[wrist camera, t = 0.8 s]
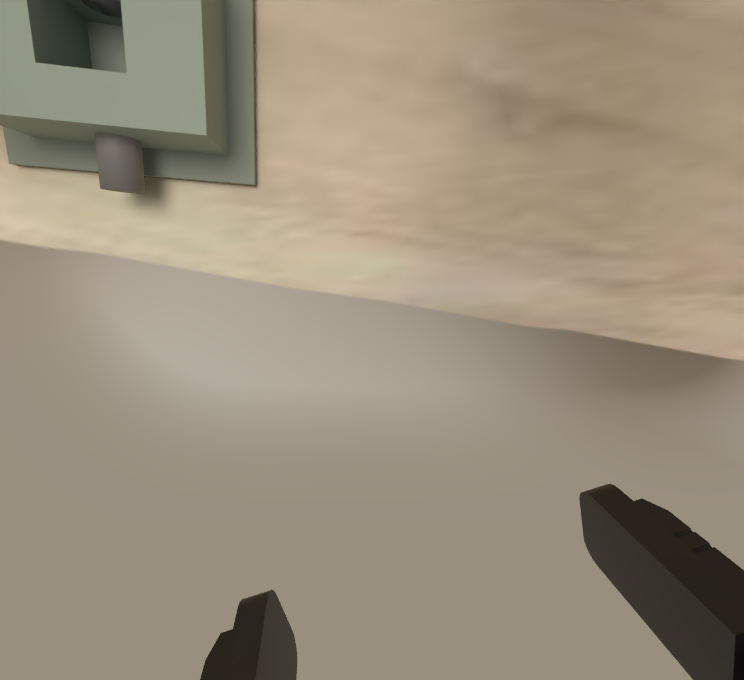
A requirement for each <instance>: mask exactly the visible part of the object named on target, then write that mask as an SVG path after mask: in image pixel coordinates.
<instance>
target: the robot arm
mask: <svg viewBox="0 0 744 680" xmlns="http://www.w3.org/2000/svg"><path fill="white" fill-rule="evenodd" d="M580 508H581V516H582V525H583V536H584V541H585V544H586V547H587V549H588V551H589V553H590V555H591V557H592V558H593V560H594V561H595V563H596V564H597V566H598V567H599V568H600V569H601V570H602V572H603V573H604V574H605V575H606V576H607V578H608V579H609V580H610V581H611V582H612V584H613V585H614V586H615V587H616V588H617V589H618V591H619V592H620V593H621V594H622V595H623V597H624V598H625V599H626V600H627V601H628V602H629V604H630V605H631V606H632V607H633V609H634V610H635V611H636V612H637V613H638V615H639V616H640V617H641V618H642V619H643V620H644V622H645V623H646V624H647V625H648V626H649V628H650V629H651V630H652V631H653V632H654V634H655V635H656V636H657V637H658V638H659V640H660V641H661V642H662V643H663V644H664V645H665V647H666V648H667V649H668V650H669V651H670V652H671V654H672V655H673V656H674V657H675V659H676V660H677V661H678V662H679V663H680V665H681V666H682V667H683V668H684V669H685V670H686V672H687V673H688V674H689V675H690V676H691V678H692V679H693V680H744V570H743V569H741V568H740V567H739V566H737V565H736V564H735V563H734V562H732V561H731V560H730V559H729V558H727V557H726V556H725V555H724V554H722V553H721V552H720V551H719V550H717V549H716V548H715V547H714V548H712V547H711V546H710V544H709V543H708V542H707V541H706V540H705V539H703V538H702V537H701V536H699V535H698V534H697V533H696V532H692V531H691V528H689V527H688V526H687V525H686V524H684V523H683V522H682V521H681V520H679V519H678V518H677V517H676V516H674V515H673V514H672V513H671V512H669V511H668V510H666V509H663V508H661V507H659V506H657V505H655V504H653V503H650V502H648V501H646V500H644V499H639V500H636V501H633V500H632V499H630V498H629V497H628V496H627V495H626V494H624V493H623V492H622V491H621V490H620V489H619V488H617V487H616V486H614V485H612V484H607V485H604V486H600V487H597V488H594V489H591V490H588V491H585V492H582V493H581V494H580ZM296 674H297V650H296V643H295V638H294V634H293V631H292V629H291V627H290V624H289V622H288V620H287V617H286V615H285V613H284V611H283V608H282V607H281V604H280V602H279V599H278V597H277V595H276V593H275V592H274V591H273V590H270V591H267V592H264V593H261V594H258V595H255V596H252V597H249V598H245V599H242V600H241V602H240V603H239V606H238V609H237V614H236V618H235V623H234V627H233V629H232V630H229V631H226V632H223V633H221V634H220V636H219V638H218V639H217V641H216V643H215V645H214V646H213V648H212V650H211V652H210V653H209V655H208V657H207V659H206V661H205V664H204V668H203V672H202V675H201V679H200V680H296Z"/></svg>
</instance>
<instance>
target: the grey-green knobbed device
mask: <svg viewBox="0 0 744 680" xmlns="http://www.w3.org/2000/svg"><path fill="white" fill-rule="evenodd" d="M0 125H2V126H3V129H4V135H5V141H6V147H7V153H8V159H9V164H13V165H17V166H29V167H41V168H53V169H64V170H76V171H88V172H99V181H100V188H101V189H105V190H111V191H118V192H127V193H146V192H145V180H144V176H146V177H158V178H170V179H181V180H193V181H205V182H216V183H228V184H240V185H252V186H256V116H255V31H254V0H0Z"/></svg>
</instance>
